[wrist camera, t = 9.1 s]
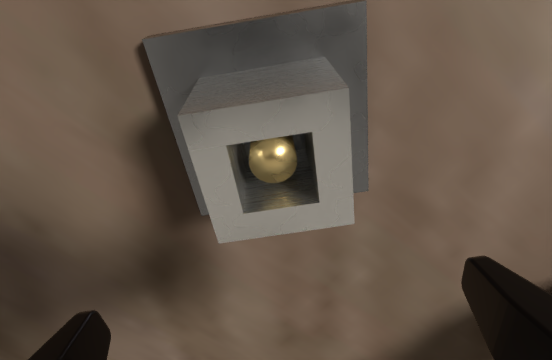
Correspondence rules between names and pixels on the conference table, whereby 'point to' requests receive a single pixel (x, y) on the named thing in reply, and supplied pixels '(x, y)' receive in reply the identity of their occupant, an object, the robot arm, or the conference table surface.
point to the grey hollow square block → (264, 125)
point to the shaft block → (261, 53)
